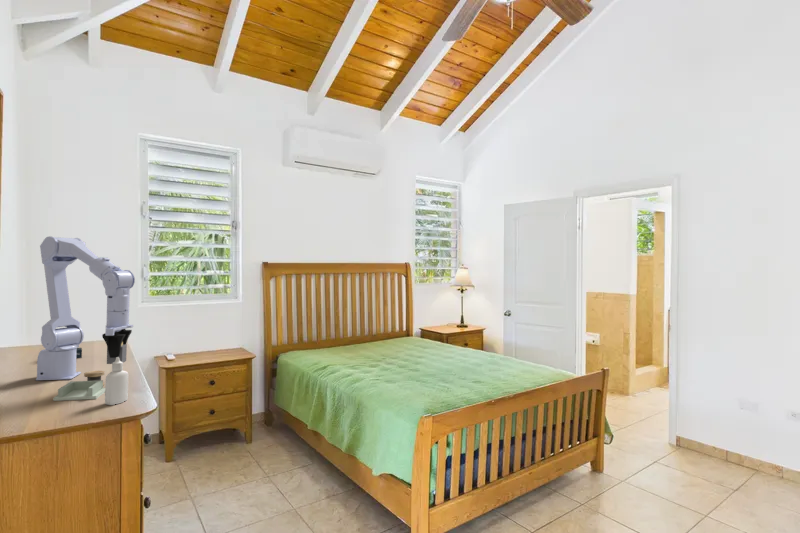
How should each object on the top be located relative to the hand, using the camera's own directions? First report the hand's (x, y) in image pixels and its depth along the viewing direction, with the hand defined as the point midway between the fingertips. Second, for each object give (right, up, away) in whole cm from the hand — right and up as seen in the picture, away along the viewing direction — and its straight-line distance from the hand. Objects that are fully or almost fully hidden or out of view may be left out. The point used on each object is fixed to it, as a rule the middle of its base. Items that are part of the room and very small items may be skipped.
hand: (116, 355), depth 136 cm
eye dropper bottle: (+9, -10, -15) cm, 20 cm away
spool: (-6, -9, -1) cm, 11 cm away
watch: (-38, -8, +34) cm, 51 cm away
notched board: (-3, -9, -11) cm, 14 cm away
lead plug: (0, -2, 0) cm, 2 cm away
